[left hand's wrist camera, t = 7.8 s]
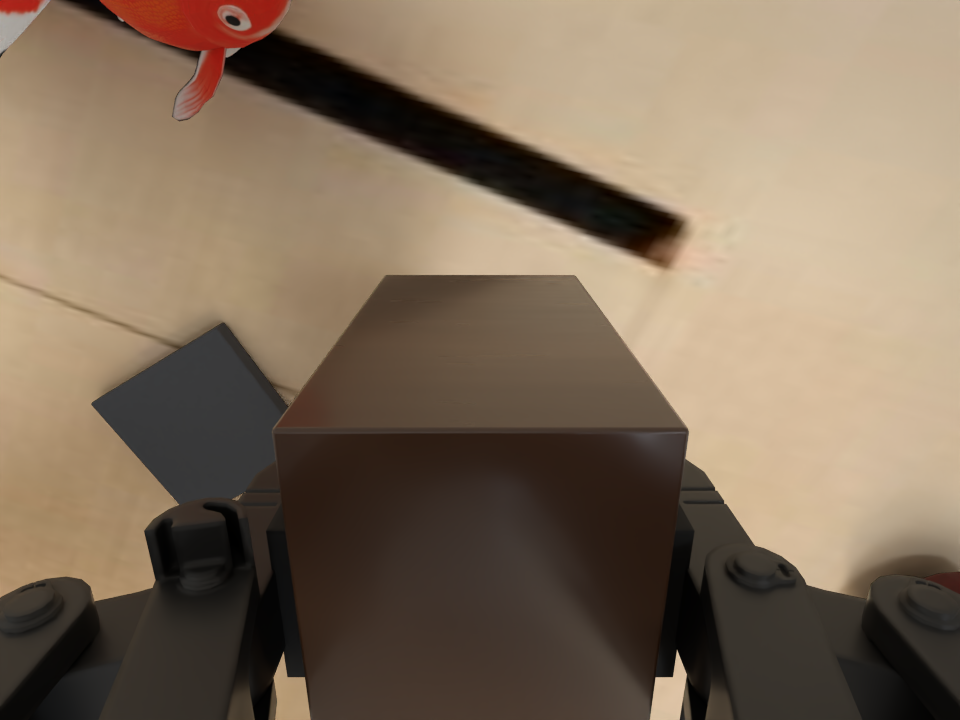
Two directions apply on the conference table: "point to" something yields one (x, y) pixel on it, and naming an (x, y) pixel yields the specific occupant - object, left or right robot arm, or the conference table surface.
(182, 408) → the coaster
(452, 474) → the beam
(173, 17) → the fish
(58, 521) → the conference table surface
